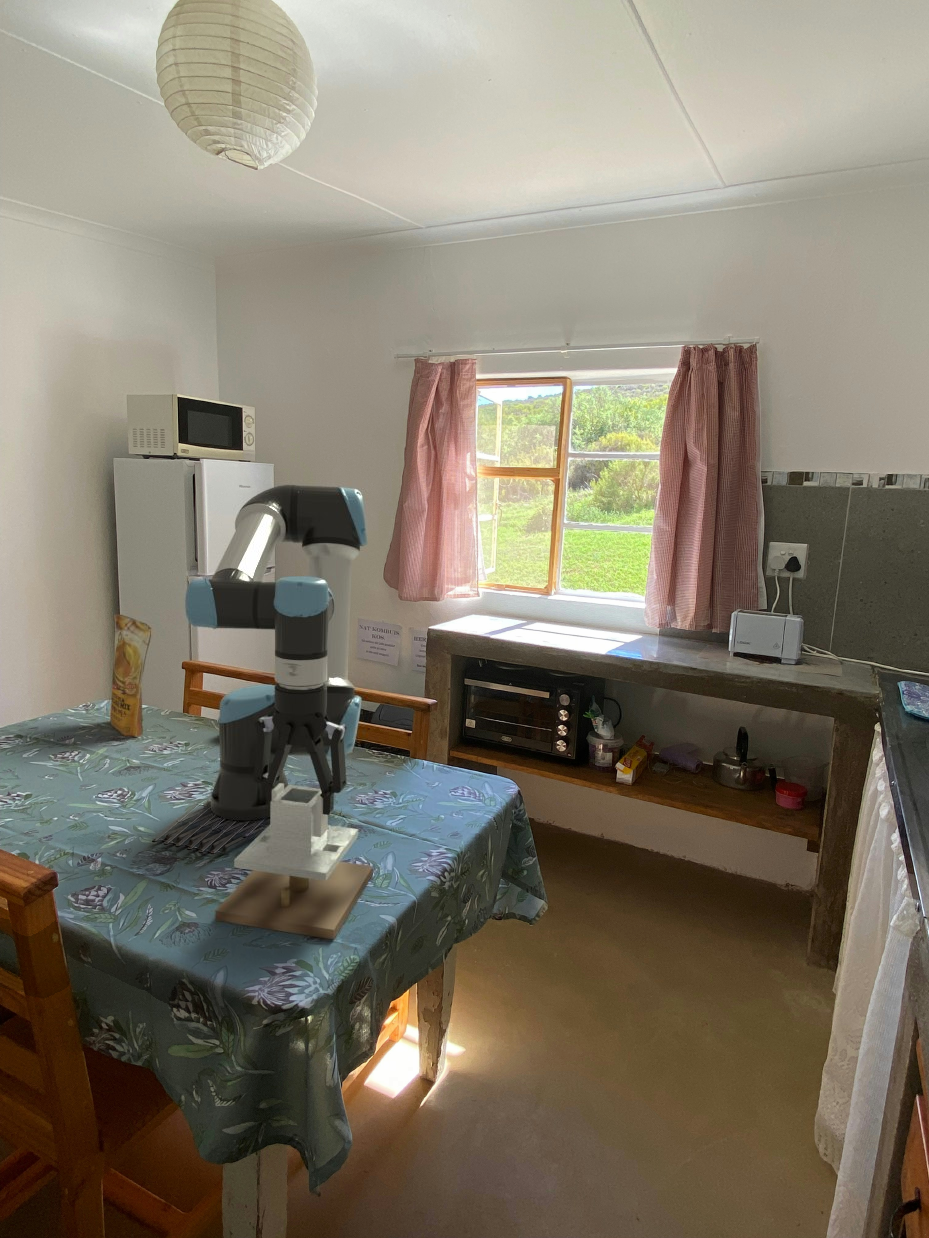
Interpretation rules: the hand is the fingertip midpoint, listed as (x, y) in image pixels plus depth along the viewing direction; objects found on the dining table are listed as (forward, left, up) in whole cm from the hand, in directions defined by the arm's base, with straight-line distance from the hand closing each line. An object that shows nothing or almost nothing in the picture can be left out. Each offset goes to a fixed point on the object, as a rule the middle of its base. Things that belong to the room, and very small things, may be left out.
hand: (299, 829), depth 110 cm
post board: (0, 0, -11) cm, 11 cm away
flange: (0, 0, -3) cm, 3 cm away
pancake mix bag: (-71, +60, -11) cm, 94 cm away
